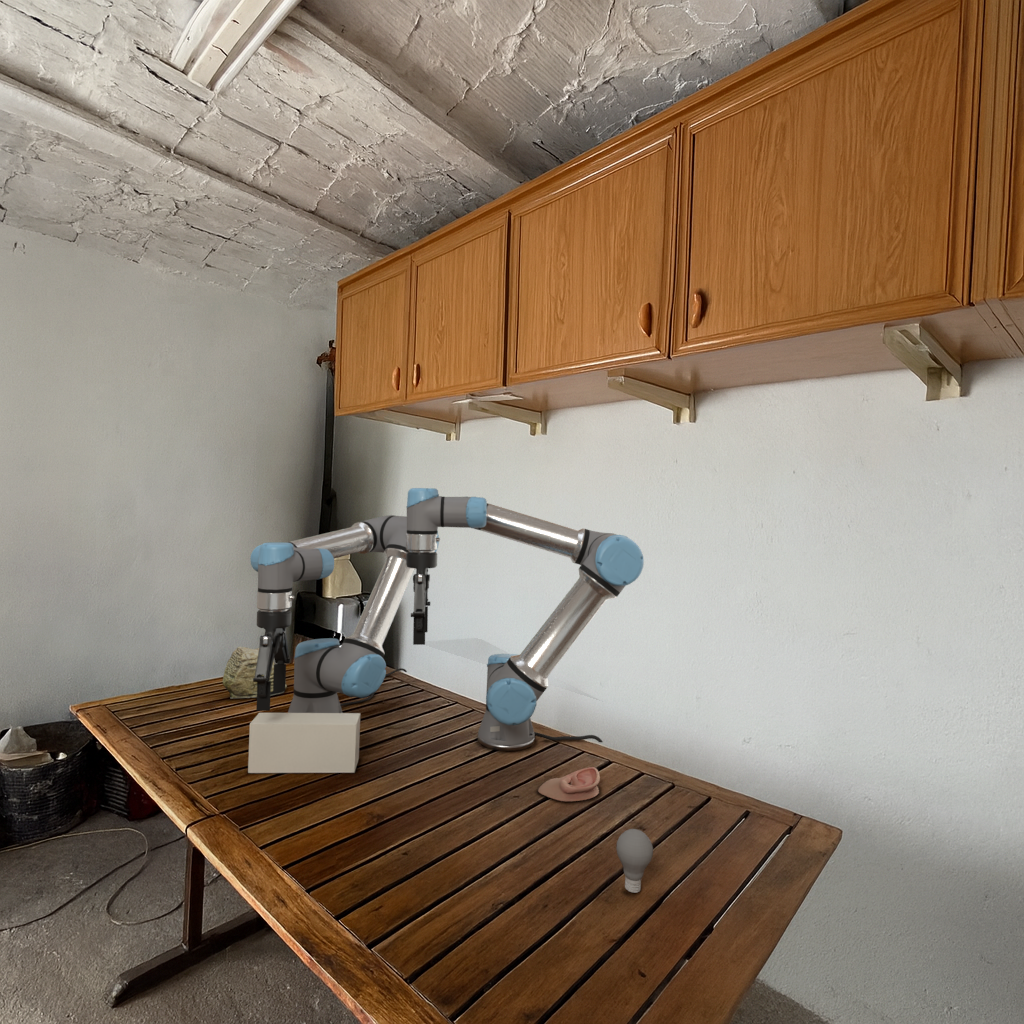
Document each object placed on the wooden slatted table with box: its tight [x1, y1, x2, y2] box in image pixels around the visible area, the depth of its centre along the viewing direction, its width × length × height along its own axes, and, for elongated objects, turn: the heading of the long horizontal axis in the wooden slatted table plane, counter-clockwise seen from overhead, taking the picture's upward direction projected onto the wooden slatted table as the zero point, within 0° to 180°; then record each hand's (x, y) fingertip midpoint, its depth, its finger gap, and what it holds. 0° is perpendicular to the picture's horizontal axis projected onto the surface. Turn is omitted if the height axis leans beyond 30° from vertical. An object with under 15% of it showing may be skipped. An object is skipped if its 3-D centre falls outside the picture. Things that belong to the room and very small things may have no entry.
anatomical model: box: [537, 766, 601, 802], centre depth 141 cm, size 13×4×12 cm
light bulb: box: [615, 828, 654, 894], centre depth 106 cm, size 6×6×10 cm
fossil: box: [222, 646, 288, 699], centre depth 198 cm, size 9×18×15 cm, turn 132°
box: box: [247, 712, 361, 774], centre depth 148 cm, size 24×8×11 cm, turn 96°
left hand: (271, 700), depth 147 cm, fingers open, 13 cm apart
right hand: (420, 638), depth 155 cm, fingers open, 13 cm apart
